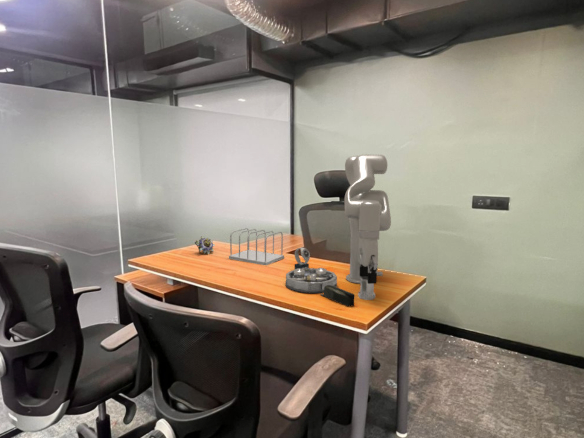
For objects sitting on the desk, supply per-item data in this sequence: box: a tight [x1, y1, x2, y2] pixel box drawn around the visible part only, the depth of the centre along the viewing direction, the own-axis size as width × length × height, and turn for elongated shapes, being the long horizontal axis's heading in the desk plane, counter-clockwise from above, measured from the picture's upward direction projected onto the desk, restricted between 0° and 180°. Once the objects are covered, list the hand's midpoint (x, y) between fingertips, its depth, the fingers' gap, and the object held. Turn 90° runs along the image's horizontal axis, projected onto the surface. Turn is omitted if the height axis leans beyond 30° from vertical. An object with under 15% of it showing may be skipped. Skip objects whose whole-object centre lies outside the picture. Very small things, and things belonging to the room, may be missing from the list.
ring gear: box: [285, 267, 338, 291], centre depth 146 cm, size 21×21×3 cm
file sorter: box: [228, 227, 285, 266], centre depth 189 cm, size 25×17×16 cm
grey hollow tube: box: [357, 276, 376, 301], centre depth 132 cm, size 6×6×8 cm
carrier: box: [285, 267, 338, 295], centre depth 146 cm, size 22×22×6 cm
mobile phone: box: [319, 285, 356, 307], centre depth 129 cm, size 5×3×15 cm
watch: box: [294, 247, 311, 269], centre depth 168 cm, size 6×8×11 cm
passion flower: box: [194, 236, 216, 255], centre depth 202 cm, size 11×11×12 cm
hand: (367, 279), depth 131 cm, fingers open, 9 cm apart
